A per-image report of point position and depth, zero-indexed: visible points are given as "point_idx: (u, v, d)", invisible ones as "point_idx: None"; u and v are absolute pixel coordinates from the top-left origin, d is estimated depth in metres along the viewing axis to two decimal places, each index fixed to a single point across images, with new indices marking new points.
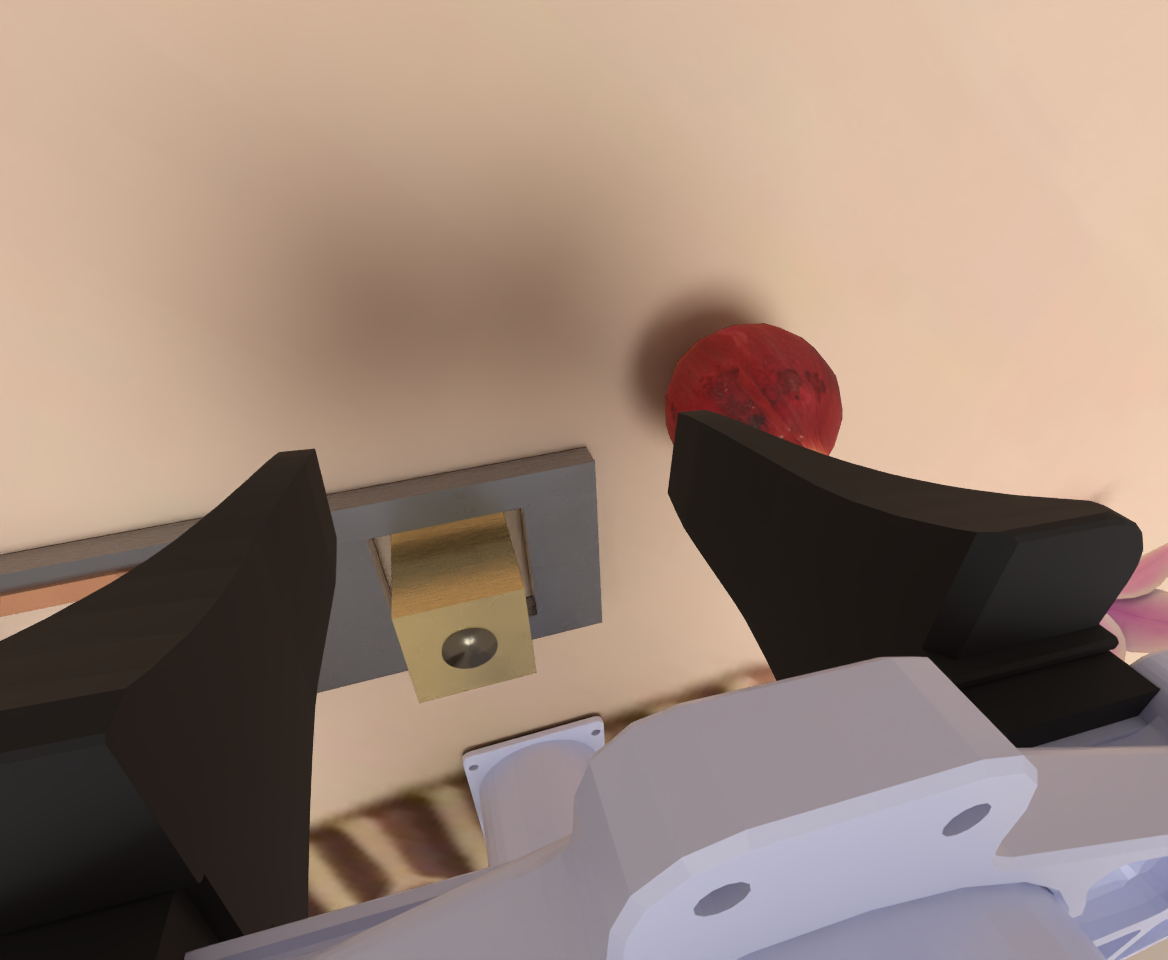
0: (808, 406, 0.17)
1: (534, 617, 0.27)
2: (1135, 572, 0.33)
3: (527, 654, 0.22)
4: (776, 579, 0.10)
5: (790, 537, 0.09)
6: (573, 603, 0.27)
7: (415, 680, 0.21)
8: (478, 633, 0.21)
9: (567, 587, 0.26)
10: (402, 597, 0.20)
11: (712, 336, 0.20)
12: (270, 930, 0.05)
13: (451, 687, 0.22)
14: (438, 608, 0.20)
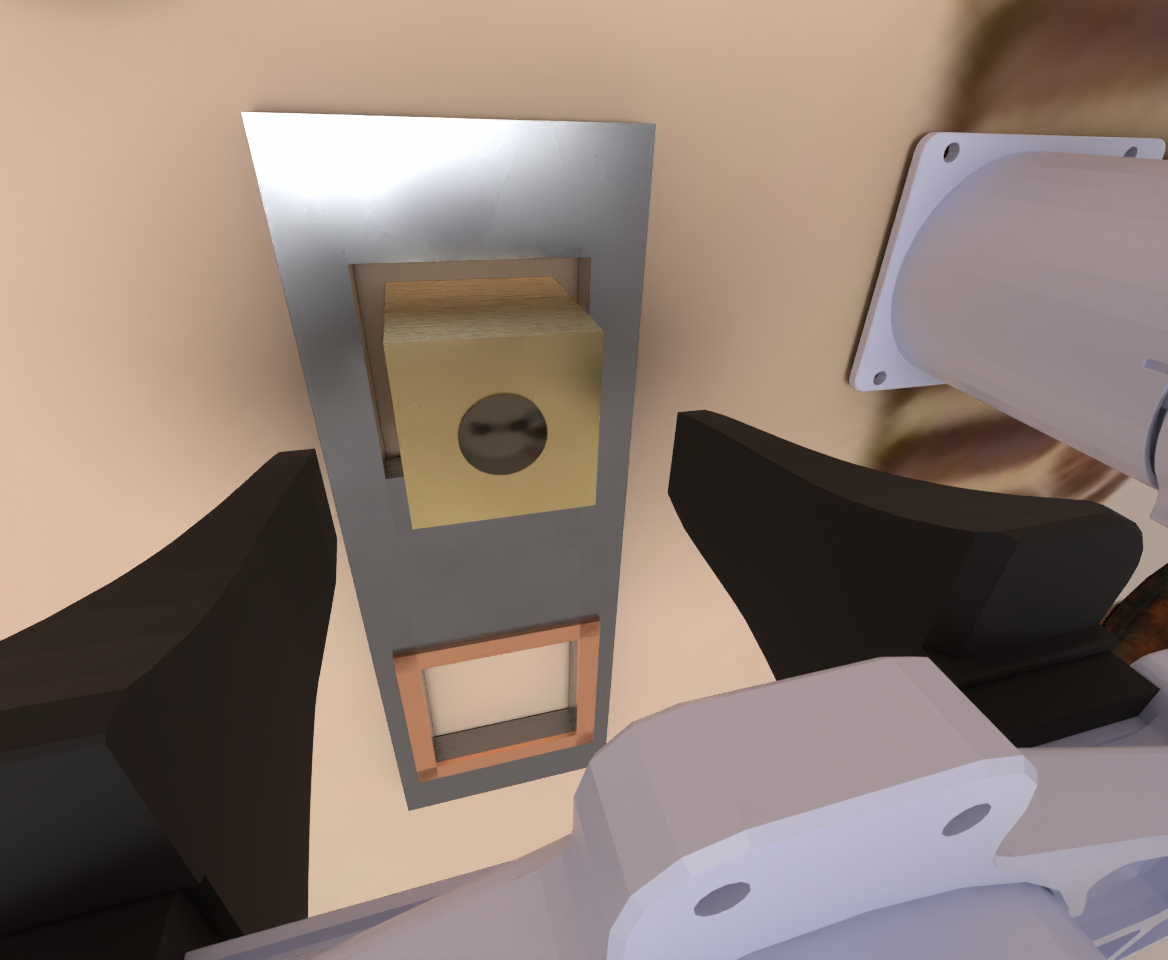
0: None
1: (595, 262, 0.15)
2: None
3: (550, 346, 0.12)
4: (776, 579, 0.10)
5: (790, 537, 0.09)
6: (586, 184, 0.14)
7: (546, 507, 0.15)
8: (474, 422, 0.13)
9: (544, 194, 0.14)
10: None
11: None
12: (270, 930, 0.05)
13: (581, 463, 0.14)
14: None
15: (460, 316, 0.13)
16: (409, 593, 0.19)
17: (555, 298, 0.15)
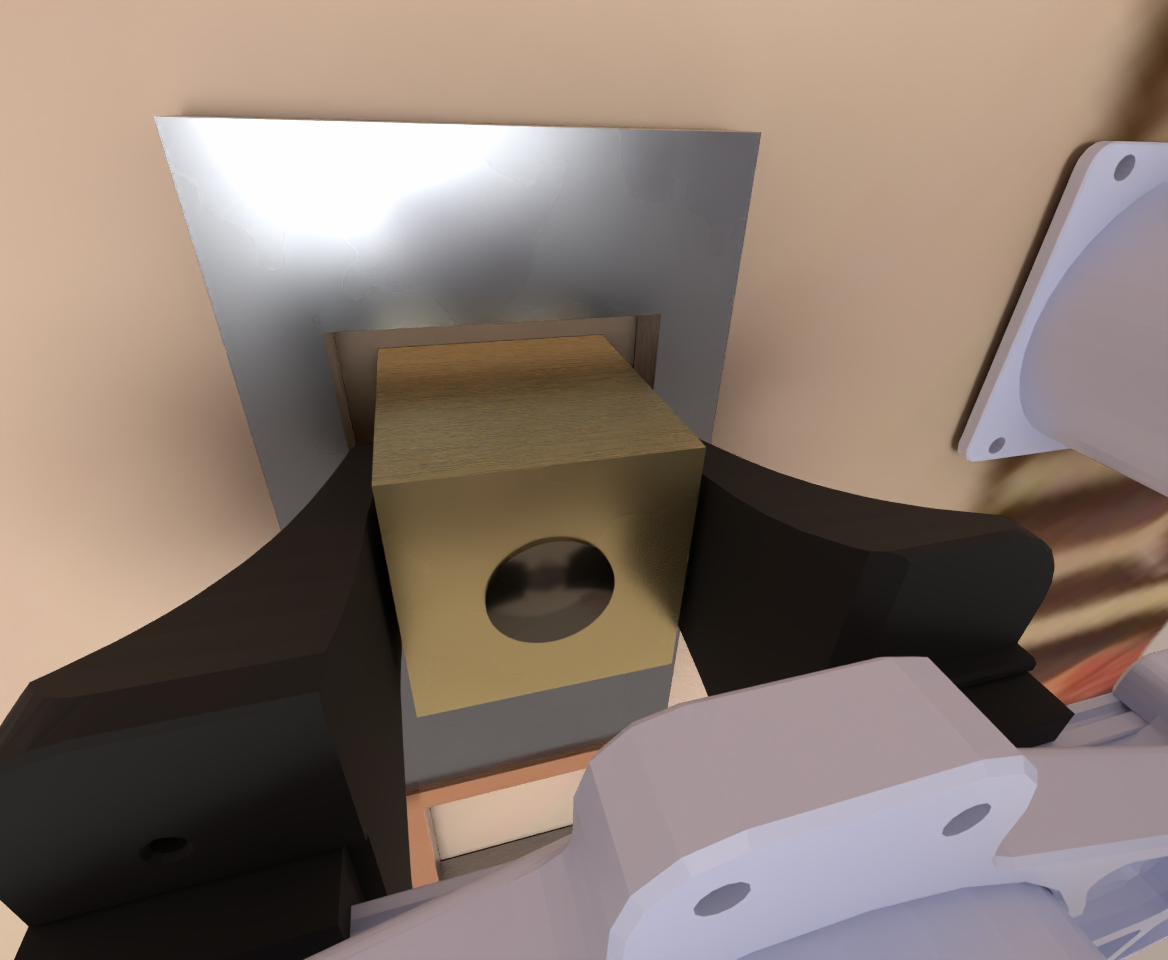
0: None
1: (666, 321, 0.11)
2: None
3: (626, 472, 0.08)
4: (705, 592, 0.09)
5: (715, 549, 0.09)
6: (661, 217, 0.10)
7: (605, 673, 0.10)
8: (509, 579, 0.09)
9: (602, 231, 0.10)
10: None
11: None
12: None
13: (657, 617, 0.10)
14: None
15: (488, 418, 0.09)
16: (411, 726, 0.15)
17: (616, 377, 0.10)
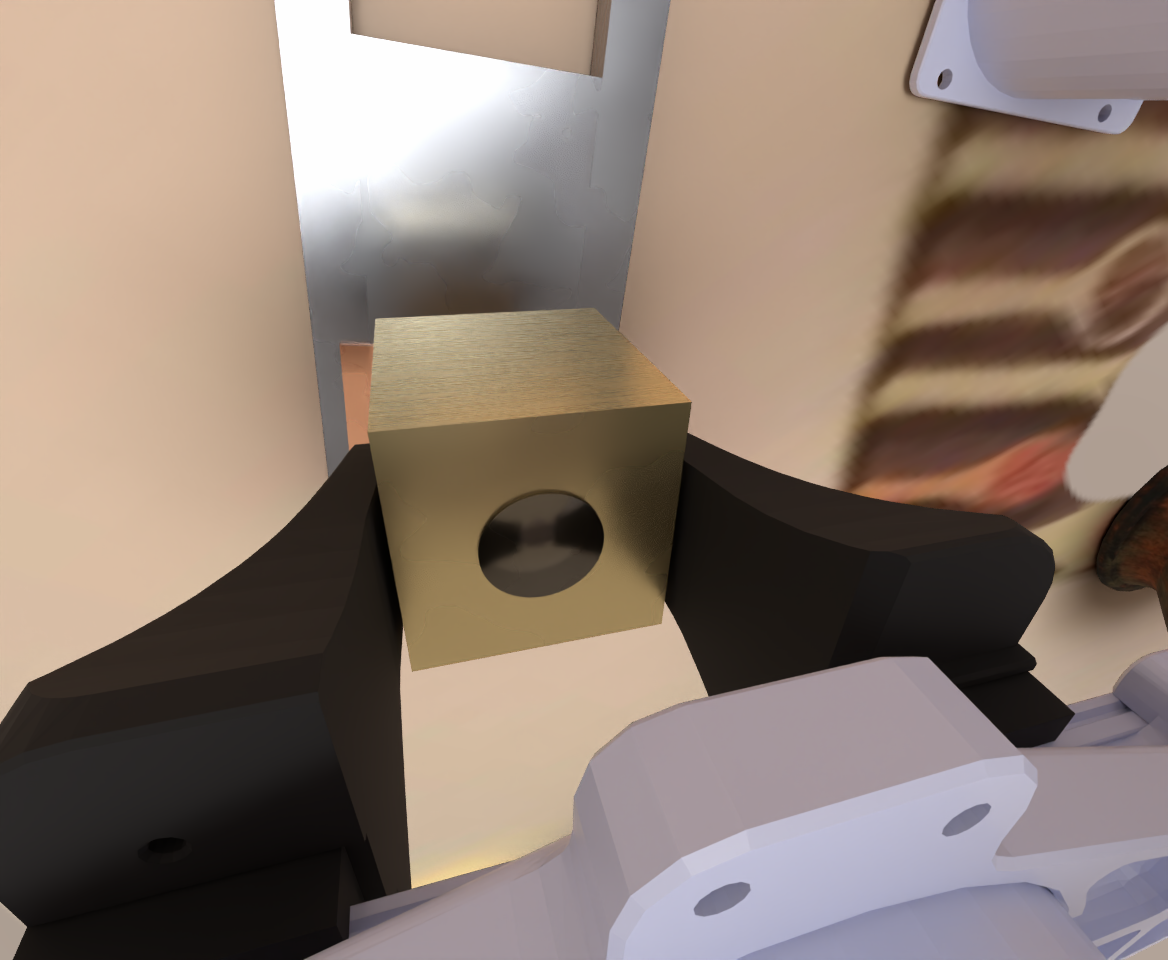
0: None
1: None
2: None
3: (615, 425, 0.08)
4: (705, 592, 0.09)
5: (715, 549, 0.09)
6: None
7: (596, 631, 0.11)
8: (501, 531, 0.09)
9: None
10: None
11: None
12: None
13: (646, 575, 0.10)
14: (399, 603, 0.09)
15: (480, 376, 0.09)
16: (368, 245, 0.16)
17: (607, 344, 0.11)
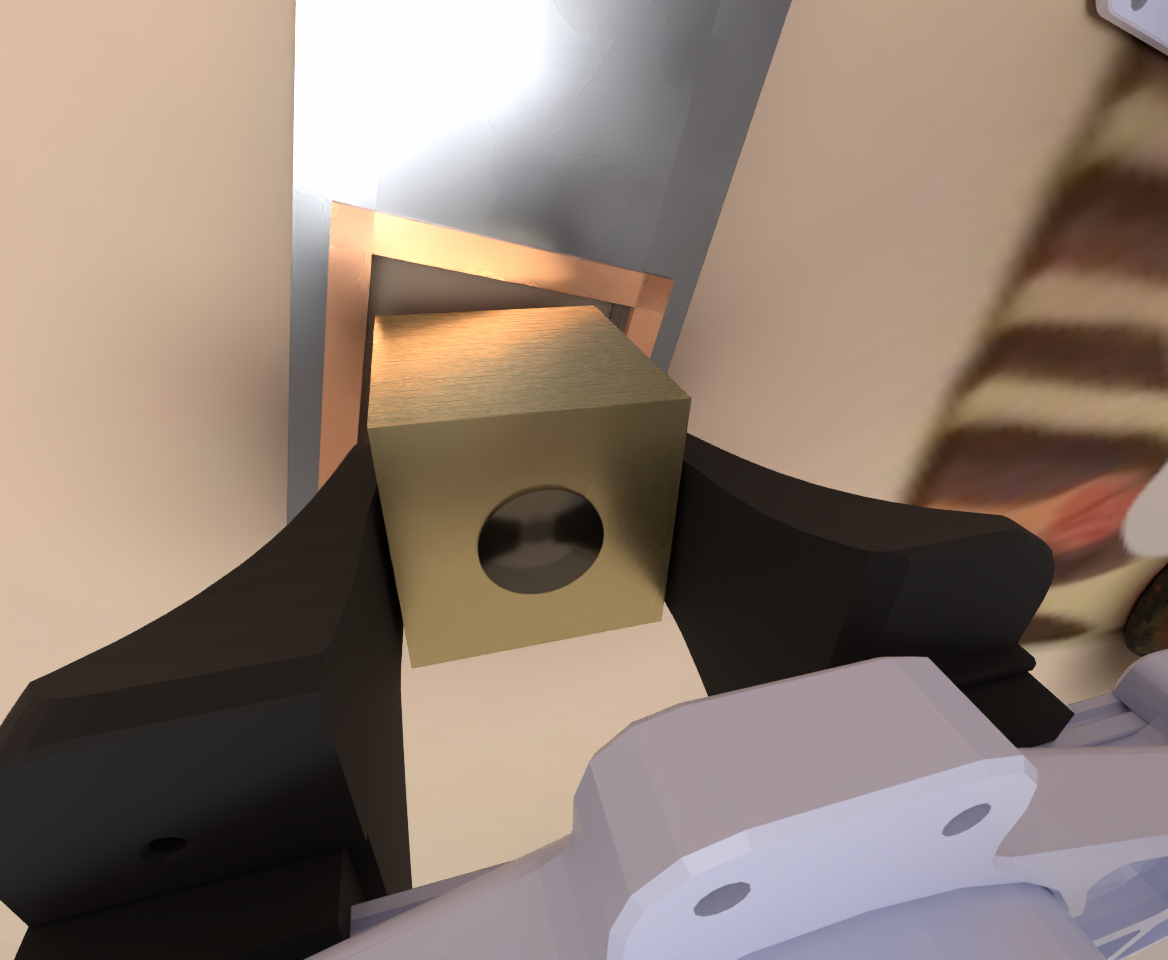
0: None
1: None
2: None
3: (613, 421, 0.08)
4: (705, 592, 0.09)
5: (715, 549, 0.09)
6: None
7: (596, 628, 0.11)
8: (501, 528, 0.09)
9: None
10: None
11: None
12: None
13: (646, 572, 0.10)
14: (399, 600, 0.09)
15: (480, 373, 0.09)
16: (393, 53, 0.11)
17: (607, 341, 0.11)
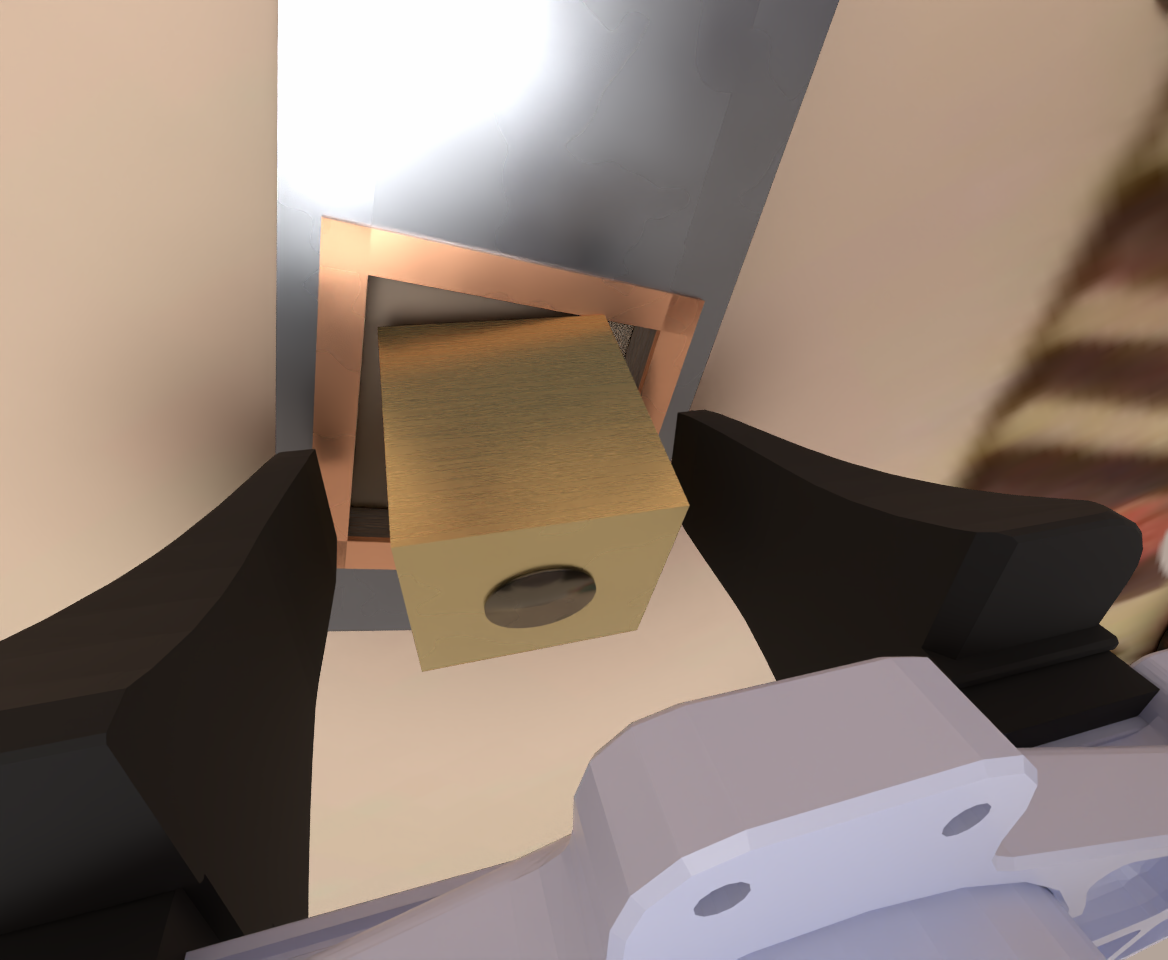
0: None
1: None
2: None
3: (616, 525, 0.09)
4: (776, 579, 0.10)
5: (790, 537, 0.09)
6: None
7: (580, 638, 0.12)
8: (506, 593, 0.10)
9: None
10: None
11: None
12: (270, 930, 0.05)
13: (629, 606, 0.12)
14: None
15: (491, 451, 0.09)
16: (392, 47, 0.09)
17: (615, 391, 0.11)
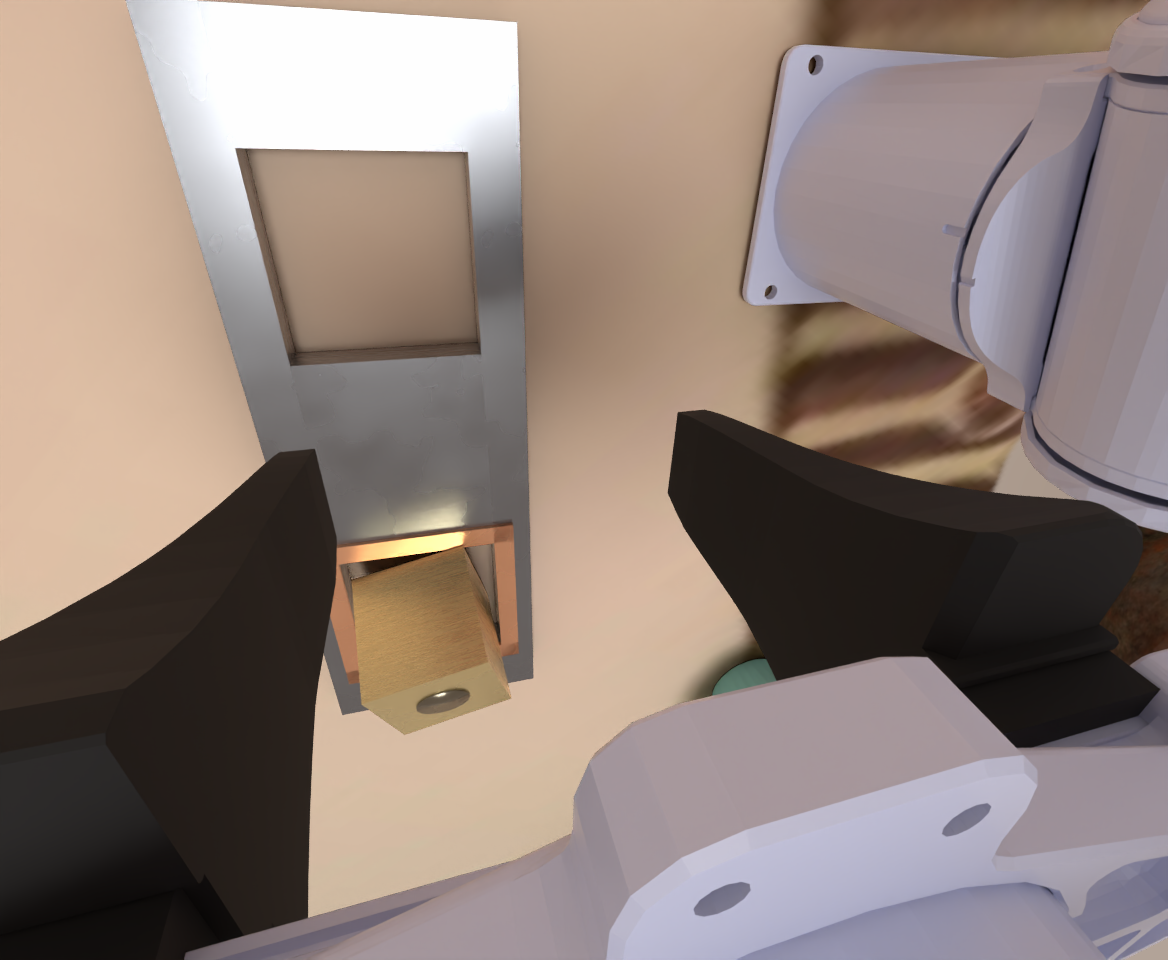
0: None
1: (472, 158, 0.17)
2: None
3: (457, 675, 0.21)
4: (776, 579, 0.10)
5: (790, 537, 0.09)
6: (456, 79, 0.16)
7: (481, 707, 0.24)
8: (424, 703, 0.22)
9: (416, 87, 0.16)
10: None
11: None
12: (270, 930, 0.05)
13: (495, 692, 0.23)
14: (391, 725, 0.23)
15: (402, 647, 0.21)
16: None
17: (462, 599, 0.22)
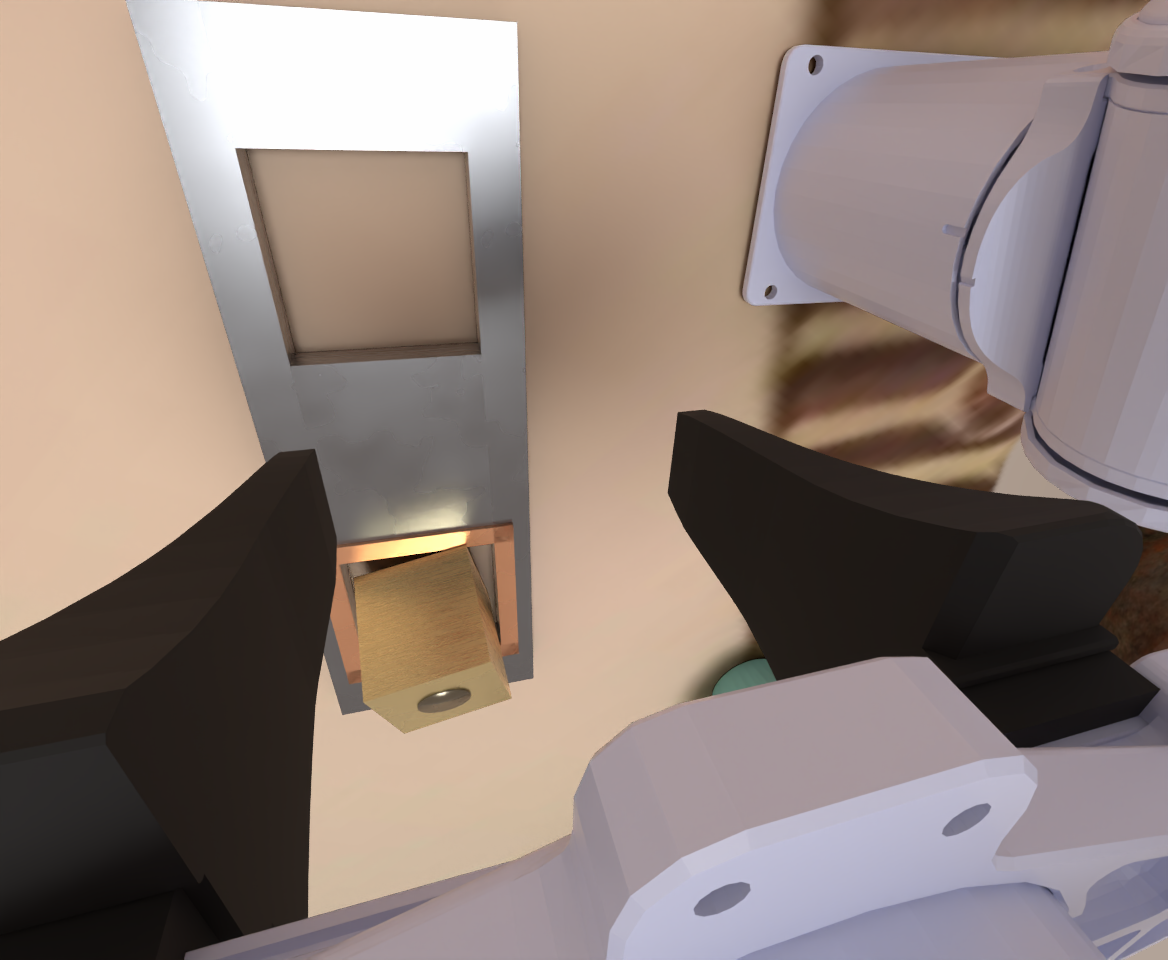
0: None
1: (472, 158, 0.17)
2: None
3: (459, 674, 0.21)
4: (776, 579, 0.10)
5: (790, 537, 0.09)
6: (456, 79, 0.16)
7: (481, 707, 0.24)
8: (425, 702, 0.22)
9: (416, 87, 0.16)
10: None
11: None
12: (270, 930, 0.05)
13: (496, 692, 0.23)
14: (391, 723, 0.23)
15: (405, 645, 0.21)
16: None
17: (465, 598, 0.22)
